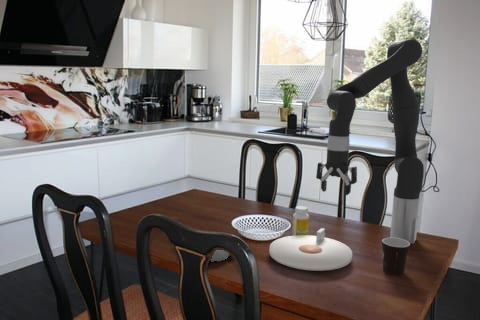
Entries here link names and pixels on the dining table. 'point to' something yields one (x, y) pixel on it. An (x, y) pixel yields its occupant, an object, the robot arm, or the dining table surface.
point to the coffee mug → (394, 255)
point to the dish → (219, 255)
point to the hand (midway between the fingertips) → (335, 192)
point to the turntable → (311, 252)
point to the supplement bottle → (300, 221)
